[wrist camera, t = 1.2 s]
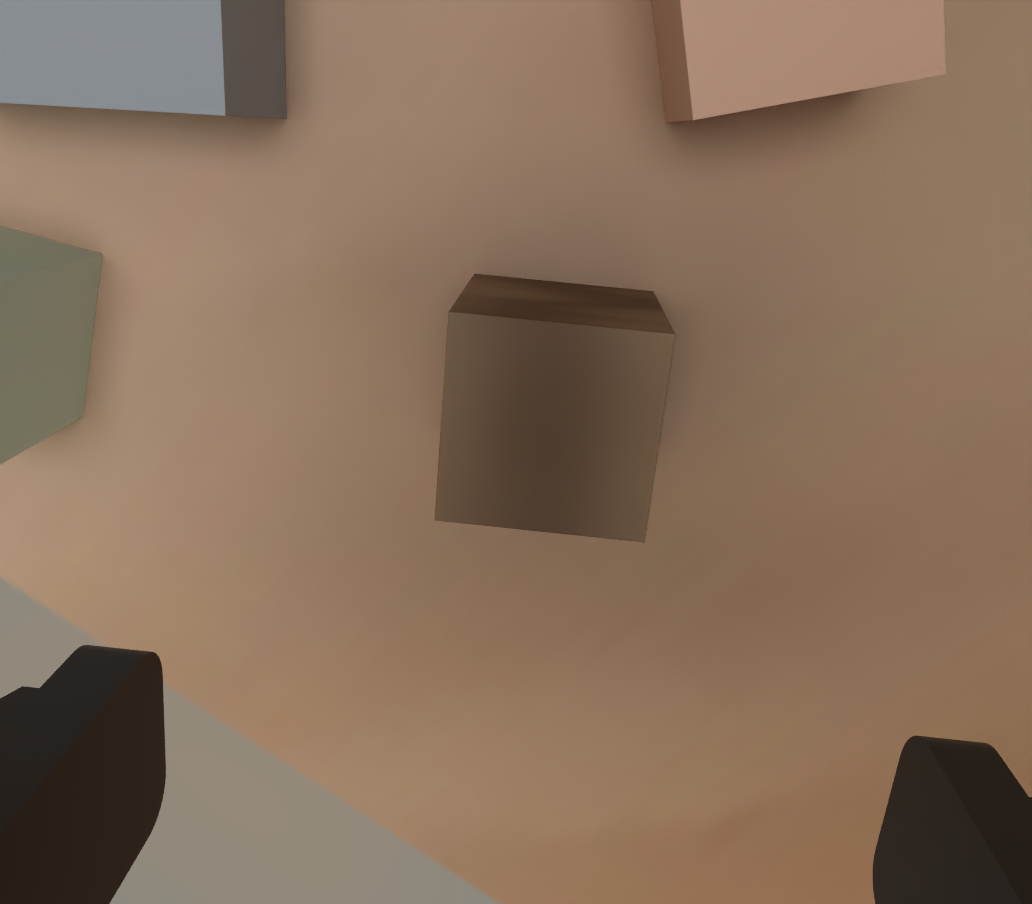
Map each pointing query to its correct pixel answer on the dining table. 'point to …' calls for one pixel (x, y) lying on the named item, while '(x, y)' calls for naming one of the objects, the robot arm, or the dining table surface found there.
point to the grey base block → (146, 55)
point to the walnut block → (552, 407)
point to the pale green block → (43, 336)
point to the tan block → (789, 50)
